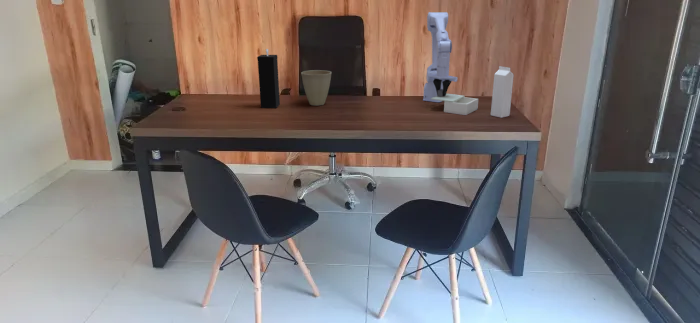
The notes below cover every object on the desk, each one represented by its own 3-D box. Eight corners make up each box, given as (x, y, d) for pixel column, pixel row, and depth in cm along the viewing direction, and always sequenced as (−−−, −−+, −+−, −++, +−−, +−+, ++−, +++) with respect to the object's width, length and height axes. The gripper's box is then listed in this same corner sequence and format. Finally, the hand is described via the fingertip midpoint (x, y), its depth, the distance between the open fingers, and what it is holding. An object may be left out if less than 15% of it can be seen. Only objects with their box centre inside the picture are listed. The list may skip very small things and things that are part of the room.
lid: (431, 99, 233) (431, 91, 232) (443, 94, 244) (444, 87, 242) (452, 102, 227) (453, 94, 226) (464, 96, 238) (465, 89, 237)
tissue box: (280, 104, 247) (277, 47, 238) (276, 108, 240) (273, 49, 230) (264, 104, 248) (261, 47, 238) (260, 108, 240) (256, 49, 231)
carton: (443, 111, 231) (444, 101, 229) (456, 106, 242) (456, 96, 240) (466, 115, 225) (466, 104, 223) (477, 109, 236) (478, 98, 234)
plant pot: (331, 107, 241) (330, 74, 236) (300, 107, 241) (299, 74, 236) (332, 100, 255) (332, 69, 250) (304, 100, 255) (302, 69, 250)
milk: (501, 118, 220) (506, 68, 213) (490, 115, 225) (494, 66, 217) (509, 115, 224) (514, 67, 216) (498, 113, 228) (503, 65, 220)
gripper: (425, 66, 233) (424, 94, 238) (453, 69, 225) (452, 98, 230) (431, 64, 239) (430, 92, 243) (460, 67, 231) (458, 95, 235)
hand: (441, 95), depth 237 cm, fingers closed on lid, 2 cm apart
